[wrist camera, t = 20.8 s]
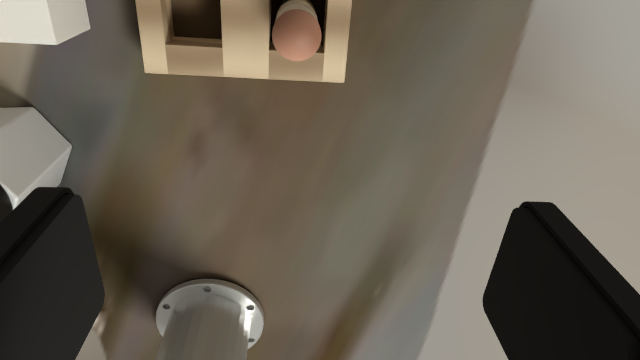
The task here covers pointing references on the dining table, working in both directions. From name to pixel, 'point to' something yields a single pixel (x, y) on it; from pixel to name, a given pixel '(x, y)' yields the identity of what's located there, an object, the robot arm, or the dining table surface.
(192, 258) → the dining table surface
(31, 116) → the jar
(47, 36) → the white cube
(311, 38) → the peg
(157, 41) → the peg board
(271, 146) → the dining table surface
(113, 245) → the dining table surface
